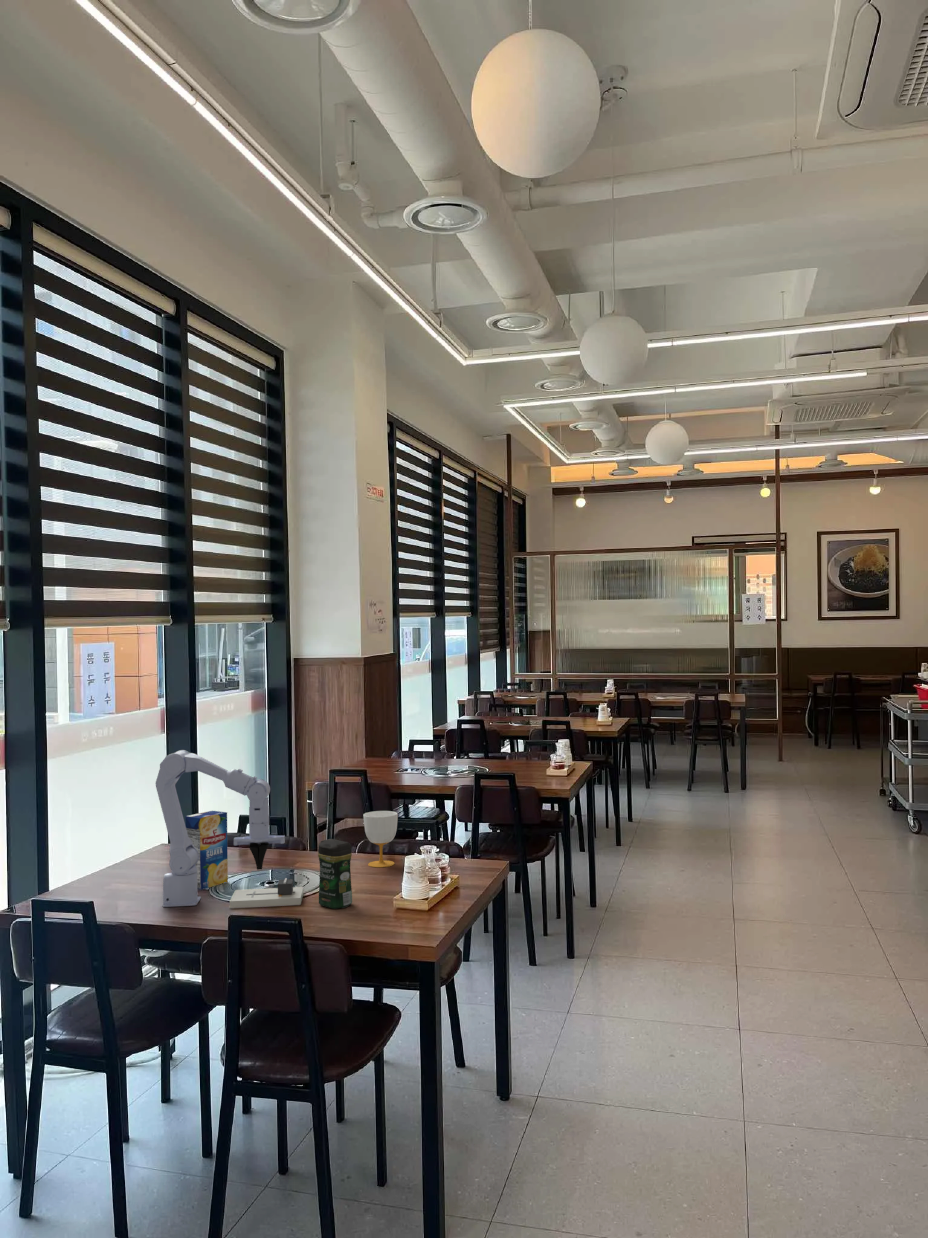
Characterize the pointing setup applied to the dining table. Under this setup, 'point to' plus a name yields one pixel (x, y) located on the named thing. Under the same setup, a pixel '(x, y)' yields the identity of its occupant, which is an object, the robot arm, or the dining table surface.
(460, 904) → the dining table surface
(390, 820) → the cup
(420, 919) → the dining table surface
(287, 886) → the block
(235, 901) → the control panel
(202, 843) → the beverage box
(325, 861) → the coffee jar
